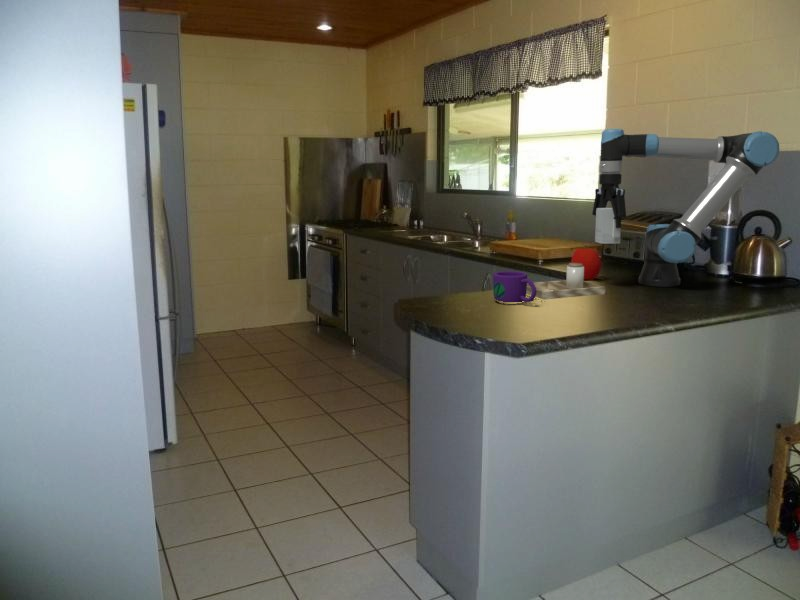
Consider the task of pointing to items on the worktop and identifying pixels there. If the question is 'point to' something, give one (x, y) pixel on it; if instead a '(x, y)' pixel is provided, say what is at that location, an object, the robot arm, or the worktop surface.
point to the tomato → (588, 262)
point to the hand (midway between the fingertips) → (607, 235)
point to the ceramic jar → (575, 275)
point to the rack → (563, 290)
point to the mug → (512, 286)
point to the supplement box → (605, 227)
